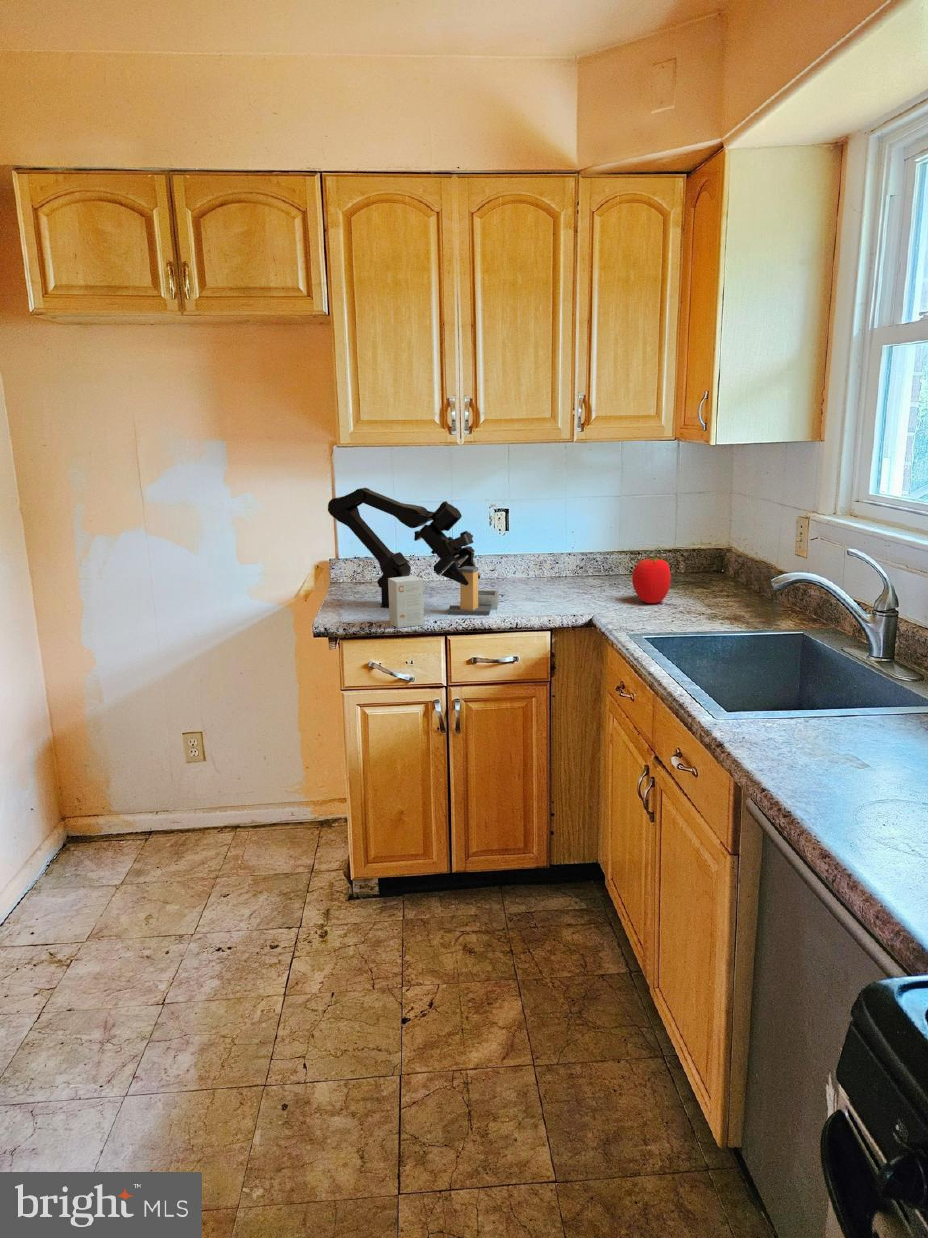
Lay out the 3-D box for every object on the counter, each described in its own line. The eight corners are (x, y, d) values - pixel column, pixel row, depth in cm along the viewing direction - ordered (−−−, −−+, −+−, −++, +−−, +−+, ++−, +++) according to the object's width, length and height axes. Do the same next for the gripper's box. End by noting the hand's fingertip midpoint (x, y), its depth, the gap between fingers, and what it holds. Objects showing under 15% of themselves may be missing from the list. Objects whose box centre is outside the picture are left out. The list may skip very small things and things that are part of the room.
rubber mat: (447, 614, 242) (447, 610, 242) (450, 609, 248) (450, 605, 248) (489, 615, 241) (489, 611, 241) (490, 609, 247) (490, 606, 247)
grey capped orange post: (459, 609, 243) (459, 568, 240) (465, 606, 247) (465, 566, 244) (473, 610, 242) (473, 569, 239) (478, 607, 246) (478, 567, 243)
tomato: (663, 608, 248) (666, 561, 244) (626, 604, 253) (628, 558, 249) (674, 599, 259) (676, 554, 255) (638, 596, 264) (640, 551, 260)
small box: (416, 620, 236) (415, 574, 233) (424, 625, 231) (423, 579, 227) (389, 623, 233) (387, 577, 230) (396, 628, 227) (395, 581, 224)
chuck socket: (471, 608, 249) (471, 595, 248) (473, 602, 256) (473, 590, 255) (496, 609, 248) (496, 596, 247) (498, 603, 255) (498, 590, 254)
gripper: (443, 527, 231) (480, 569, 230) (468, 518, 248) (503, 557, 247) (417, 553, 236) (454, 595, 235) (444, 543, 253) (478, 582, 252)
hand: (473, 581), depth 242 cm, fingers open, 9 cm apart
